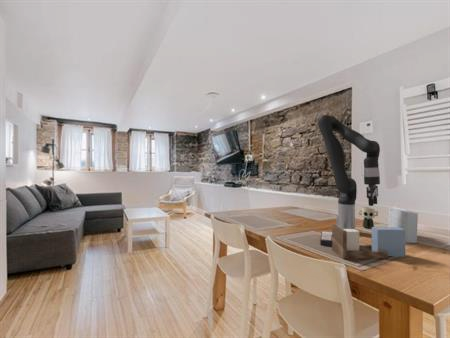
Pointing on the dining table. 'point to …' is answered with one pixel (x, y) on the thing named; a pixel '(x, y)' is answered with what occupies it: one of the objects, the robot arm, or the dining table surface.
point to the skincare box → (404, 222)
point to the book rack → (341, 249)
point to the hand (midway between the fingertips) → (373, 204)
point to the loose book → (389, 240)
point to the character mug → (368, 216)
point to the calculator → (326, 238)
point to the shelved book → (352, 240)
